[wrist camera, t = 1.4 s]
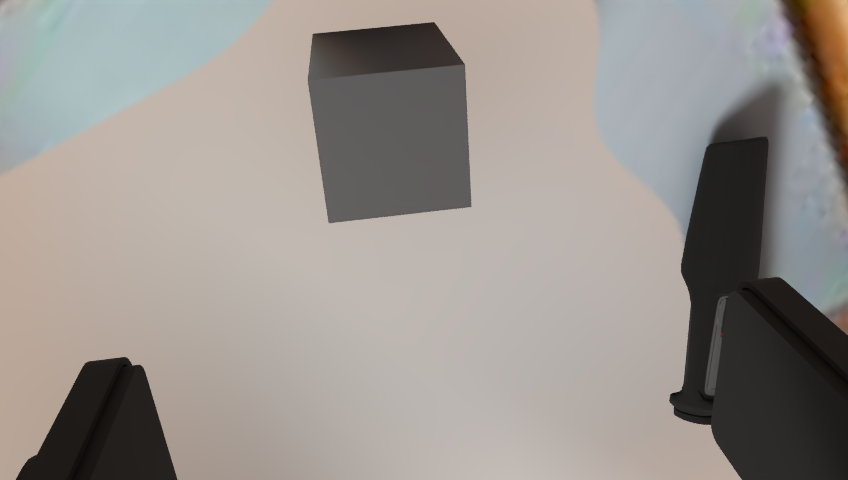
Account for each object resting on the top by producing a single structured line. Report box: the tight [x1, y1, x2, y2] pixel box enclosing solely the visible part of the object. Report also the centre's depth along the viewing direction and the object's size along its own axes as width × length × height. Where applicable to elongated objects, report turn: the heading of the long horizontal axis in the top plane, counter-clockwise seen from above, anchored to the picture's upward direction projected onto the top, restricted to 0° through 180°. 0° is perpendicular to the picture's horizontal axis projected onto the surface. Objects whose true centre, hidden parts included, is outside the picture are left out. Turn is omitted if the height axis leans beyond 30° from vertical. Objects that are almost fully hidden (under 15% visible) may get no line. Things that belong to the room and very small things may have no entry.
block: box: [308, 22, 471, 223], centre depth 25 cm, size 5×5×7 cm
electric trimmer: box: [669, 137, 768, 425], centre depth 33 cm, size 4×16×3 cm, turn 6°
